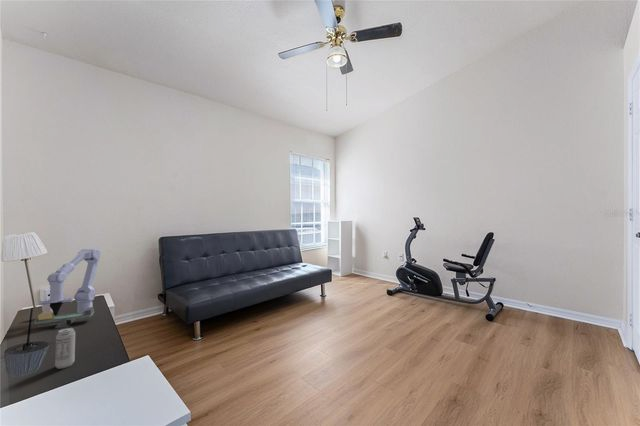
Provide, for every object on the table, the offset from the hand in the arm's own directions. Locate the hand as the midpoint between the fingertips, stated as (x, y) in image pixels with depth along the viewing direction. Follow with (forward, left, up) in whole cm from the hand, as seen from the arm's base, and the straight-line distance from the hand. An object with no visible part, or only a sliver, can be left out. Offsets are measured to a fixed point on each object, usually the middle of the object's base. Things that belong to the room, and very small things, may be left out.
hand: (56, 315), depth 161 cm
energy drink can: (+64, +21, -6) cm, 68 cm away
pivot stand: (0, +4, -6) cm, 8 cm away
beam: (0, +4, -2) cm, 5 cm away
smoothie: (-23, -11, -6) cm, 26 cm away
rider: (0, -4, -2) cm, 4 cm away
